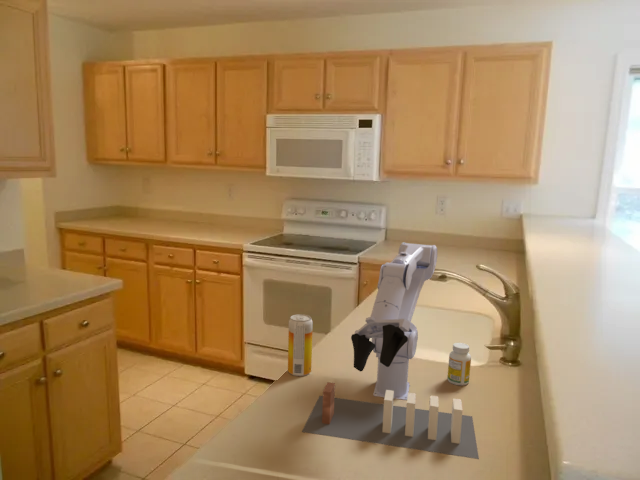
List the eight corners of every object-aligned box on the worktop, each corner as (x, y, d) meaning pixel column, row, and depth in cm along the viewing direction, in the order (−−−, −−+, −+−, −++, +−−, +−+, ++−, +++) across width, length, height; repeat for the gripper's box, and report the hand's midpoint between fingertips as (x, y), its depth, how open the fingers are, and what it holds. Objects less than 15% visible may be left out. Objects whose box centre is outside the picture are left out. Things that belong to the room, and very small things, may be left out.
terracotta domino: (322, 423, 101) (323, 391, 100) (326, 412, 105) (327, 382, 104) (329, 424, 101) (330, 392, 100) (333, 413, 105) (334, 383, 104)
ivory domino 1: (382, 432, 98) (384, 399, 97) (384, 420, 103) (386, 389, 102) (390, 433, 98) (392, 400, 97) (392, 422, 102) (393, 390, 101)
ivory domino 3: (427, 438, 96) (430, 405, 95) (428, 427, 101) (430, 395, 100) (436, 440, 96) (438, 406, 95) (436, 428, 100) (438, 396, 99)
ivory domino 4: (451, 442, 95) (453, 409, 94) (450, 430, 100) (453, 398, 99) (459, 443, 95) (462, 410, 94) (458, 431, 99) (461, 399, 98)
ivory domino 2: (404, 435, 97) (406, 402, 96) (406, 424, 102) (408, 392, 101) (413, 436, 97) (415, 403, 96) (413, 425, 101) (415, 393, 100)
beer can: (311, 368, 129) (312, 314, 127) (311, 378, 123) (313, 321, 121) (288, 368, 129) (289, 313, 127) (287, 378, 123) (288, 321, 121)
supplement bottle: (451, 386, 121) (454, 349, 120) (444, 376, 126) (446, 341, 125) (472, 385, 122) (475, 349, 120) (464, 376, 127) (467, 341, 125)
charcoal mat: (319, 397, 113) (319, 395, 113) (471, 418, 106) (472, 416, 106) (301, 433, 98) (301, 431, 98) (478, 461, 90) (478, 458, 90)
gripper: (351, 306, 109) (333, 361, 101) (398, 291, 98) (383, 351, 90) (372, 323, 111) (357, 377, 103) (421, 310, 101) (408, 370, 93)
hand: (370, 366), depth 97 cm, fingers open, 7 cm apart
